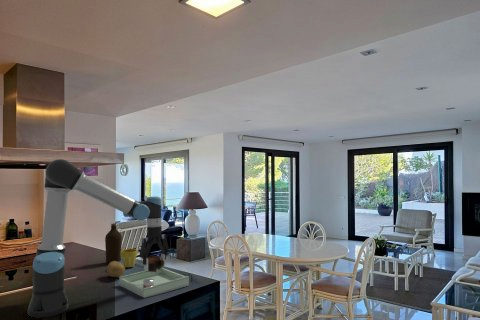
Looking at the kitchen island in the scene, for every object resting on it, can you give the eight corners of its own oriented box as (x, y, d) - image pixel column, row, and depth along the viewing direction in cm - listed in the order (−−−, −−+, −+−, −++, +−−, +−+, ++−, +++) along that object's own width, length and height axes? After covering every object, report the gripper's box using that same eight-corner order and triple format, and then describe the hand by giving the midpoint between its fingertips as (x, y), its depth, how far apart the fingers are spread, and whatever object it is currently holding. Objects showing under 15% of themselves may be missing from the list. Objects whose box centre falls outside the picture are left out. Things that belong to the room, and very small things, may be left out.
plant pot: (116, 267, 210) (117, 251, 210) (126, 263, 220) (126, 248, 220) (131, 268, 207) (131, 252, 208) (140, 264, 217) (140, 249, 217)
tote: (144, 299, 158) (144, 289, 159) (119, 285, 177) (119, 276, 177) (189, 285, 177) (189, 276, 177) (162, 274, 195) (162, 266, 195)
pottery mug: (139, 272, 175) (141, 256, 179) (150, 276, 182) (152, 260, 187) (159, 269, 171) (160, 253, 175) (169, 273, 179) (170, 257, 183)
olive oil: (122, 262, 222) (122, 224, 223) (105, 264, 218) (105, 225, 219) (121, 258, 232) (121, 222, 233) (104, 260, 228) (104, 223, 228)
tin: (146, 295, 161) (146, 282, 161) (141, 292, 165) (141, 280, 165) (155, 292, 165) (155, 280, 165) (150, 290, 168) (150, 277, 168)
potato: (110, 281, 183) (110, 267, 184) (104, 275, 195) (104, 261, 195) (128, 278, 189) (128, 264, 189) (121, 272, 200) (121, 258, 201)
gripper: (138, 229, 167) (139, 274, 167) (175, 223, 183) (176, 265, 182) (131, 228, 173) (131, 271, 172) (168, 222, 188) (168, 262, 188)
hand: (154, 268), depth 177 cm, fingers closed on pottery mug, 9 cm apart
